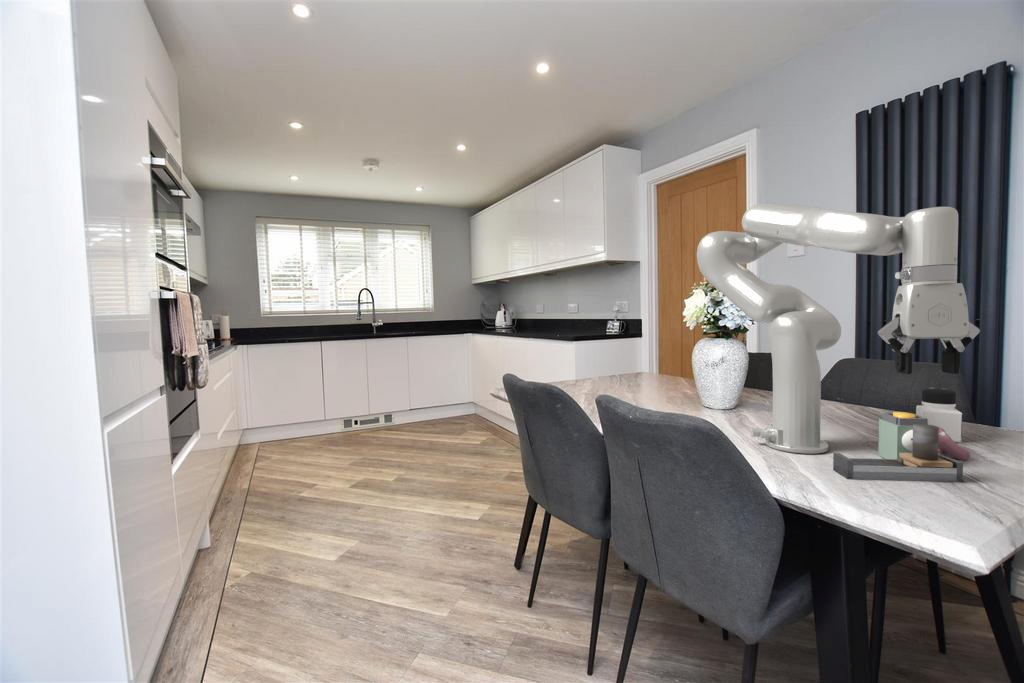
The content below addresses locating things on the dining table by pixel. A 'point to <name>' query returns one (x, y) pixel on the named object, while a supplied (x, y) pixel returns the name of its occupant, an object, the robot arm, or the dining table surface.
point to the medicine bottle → (941, 411)
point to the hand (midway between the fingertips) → (926, 372)
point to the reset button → (904, 415)
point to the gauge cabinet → (896, 435)
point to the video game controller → (951, 447)
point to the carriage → (925, 448)
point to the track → (895, 469)
